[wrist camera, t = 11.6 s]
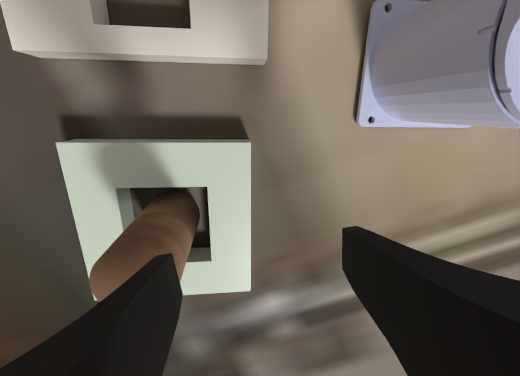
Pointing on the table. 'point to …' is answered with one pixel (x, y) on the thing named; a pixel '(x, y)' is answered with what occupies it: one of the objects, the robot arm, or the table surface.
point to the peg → (148, 241)
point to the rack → (165, 175)
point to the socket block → (139, 32)
